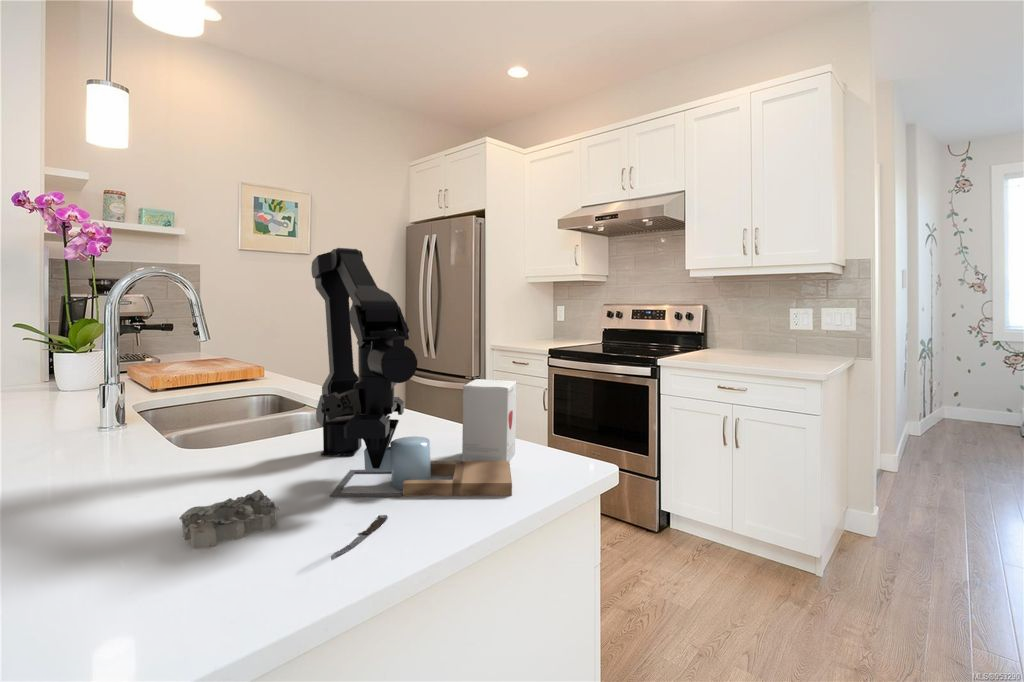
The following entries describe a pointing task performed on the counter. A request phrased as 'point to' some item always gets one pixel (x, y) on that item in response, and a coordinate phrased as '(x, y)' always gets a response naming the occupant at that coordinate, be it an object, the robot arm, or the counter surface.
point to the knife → (361, 536)
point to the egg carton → (228, 519)
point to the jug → (405, 460)
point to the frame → (345, 480)
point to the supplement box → (489, 420)
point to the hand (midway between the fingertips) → (377, 466)
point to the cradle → (464, 479)
